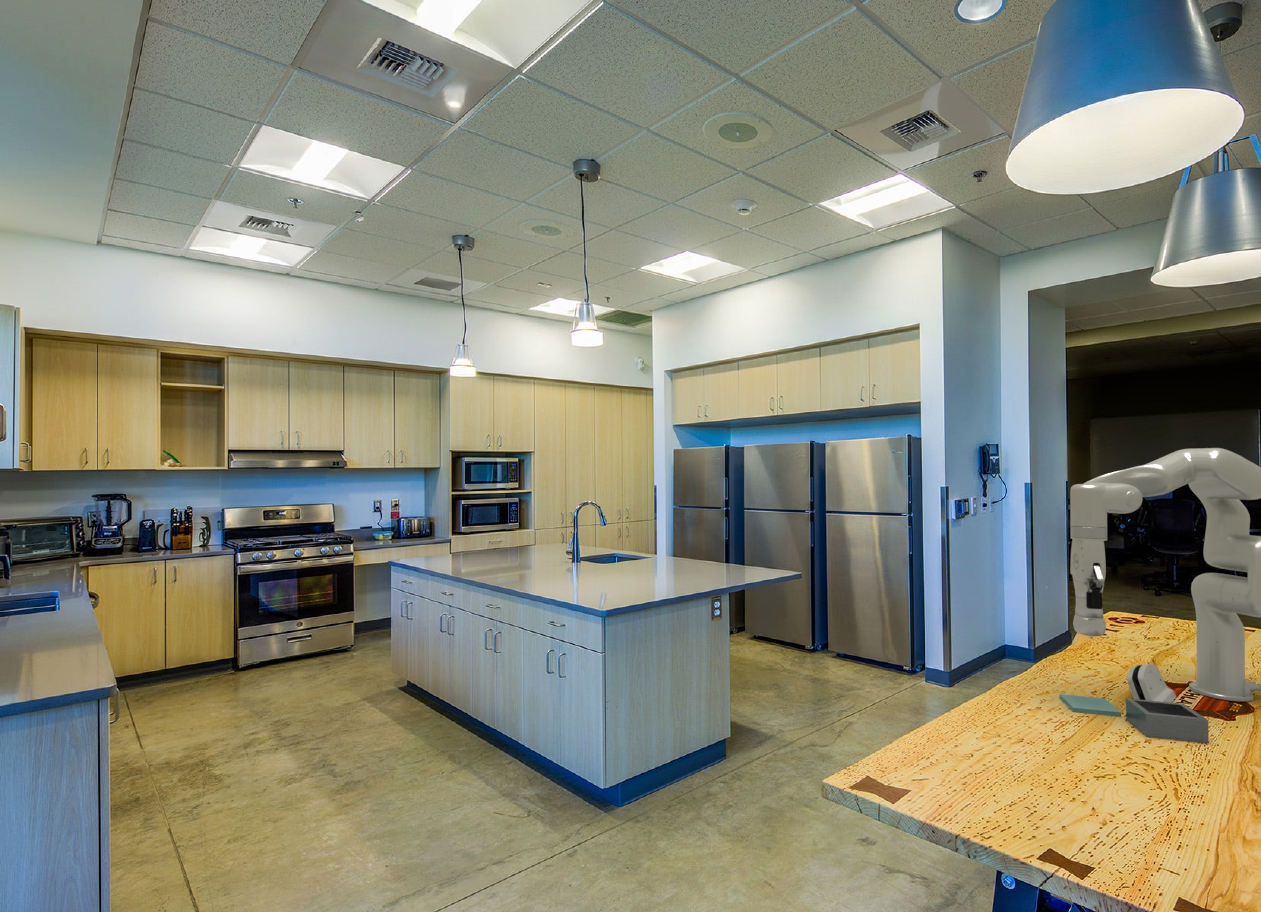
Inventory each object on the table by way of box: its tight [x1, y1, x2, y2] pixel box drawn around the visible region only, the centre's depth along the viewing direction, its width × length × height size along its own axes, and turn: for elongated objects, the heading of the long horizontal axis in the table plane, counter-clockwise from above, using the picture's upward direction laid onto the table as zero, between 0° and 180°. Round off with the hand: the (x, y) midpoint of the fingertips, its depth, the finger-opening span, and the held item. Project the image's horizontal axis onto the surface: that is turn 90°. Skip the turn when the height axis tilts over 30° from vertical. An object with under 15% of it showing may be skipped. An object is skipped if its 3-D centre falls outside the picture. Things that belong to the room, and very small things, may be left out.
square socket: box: [1125, 697, 1209, 744], centre depth 149 cm, size 11×10×5 cm
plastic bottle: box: [1072, 570, 1107, 637], centre depth 164 cm, size 6×7×20 cm
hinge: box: [1126, 663, 1177, 703], centre depth 168 cm, size 17×5×10 cm, turn 131°
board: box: [1058, 693, 1122, 718], centre depth 163 cm, size 10×10×1 cm
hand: (1089, 605), depth 164 cm, fingers closed on plastic bottle, 6 cm apart
